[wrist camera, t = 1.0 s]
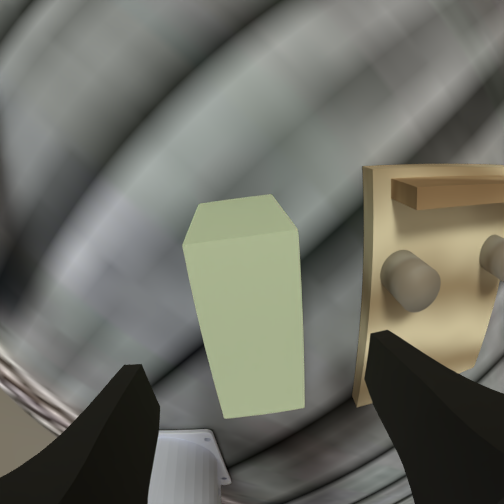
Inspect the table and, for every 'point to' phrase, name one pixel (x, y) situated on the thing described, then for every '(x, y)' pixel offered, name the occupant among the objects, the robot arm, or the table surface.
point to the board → (430, 259)
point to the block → (249, 303)
